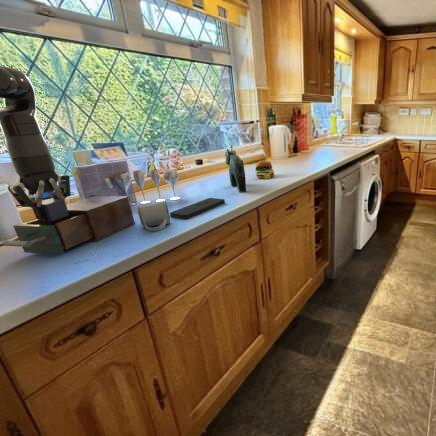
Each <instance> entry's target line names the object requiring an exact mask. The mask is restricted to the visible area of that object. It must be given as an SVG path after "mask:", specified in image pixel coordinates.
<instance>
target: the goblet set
mask: <svg viewBox="0 0 436 436" xmlns="http://www.w3.org/2000/svg"><path fill="white" fill-rule="evenodd" d="M162 172H163V173H162V177H163V180H164V181H165V183H167V184H169V185H170V187H171V189H172V191H173V196H172V197H170V198H169V201H176V200H181V199H182V197H181V196H176V191H175V185H176V183H177V182H178V181H179V177H180V176H179V173H178V171H177V169H166V170H164V171H162ZM121 173H122V174H115V173H114V179H115V181H116V183H117V185H118V186H119V187H121V188H122V189H123V190H124V191H125V193H126V196H128V194H127V190H128V187H129V185H130V182H131V181H132V179H131V180H130V177H131V174H130V175H129V173H128V172H121ZM132 173H133V174H132V175H133V180H134V181H135V183H136V185H137V186H138V187H139V189H140V190H141V193H142V196H143V200H142V201H140V202H139V204H141V205H146V204H151V203H152V202H151V200H146V197H145V193H144V186H145V183H146V182H145V181H146V177H145V173H144V171H143V170H142V169H137V170H133V171H132ZM149 176H150V179H151V181H152V182H153V184H154V185H155V187H156V189H157V192H158V196H159V199H156V200H155V202H160V201H165V202H166V198H161V193H160V188H159V187H160V182H161V174H160V171H159V169H158V168H153V169H150V170H149ZM104 184H105V186H106V187H107V188H112V187H113V181H112V178H111V177H109V178H104ZM129 203H130V202H129ZM136 204H137V202H133V203H130V207H131V206H135V205H136Z"/></svg>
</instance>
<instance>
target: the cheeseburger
mask: <svg viewBox="0 0 436 436" xmlns="http://www.w3.org/2000/svg"><path fill="white" fill-rule="evenodd" d="M255 176H256V177H257V179H266V180H269V179H271V178H272V177H274V176H275V170H274V169H273V165H272V163H271V162H270V161H267V160H261V161H258V162H257V163H256V165H255Z"/></svg>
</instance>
